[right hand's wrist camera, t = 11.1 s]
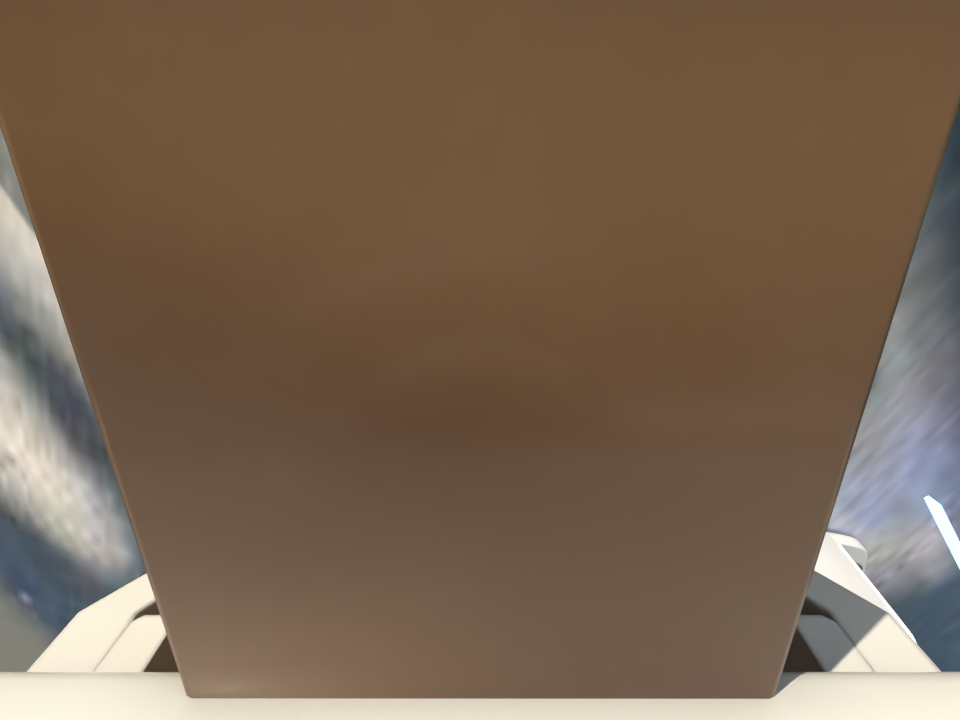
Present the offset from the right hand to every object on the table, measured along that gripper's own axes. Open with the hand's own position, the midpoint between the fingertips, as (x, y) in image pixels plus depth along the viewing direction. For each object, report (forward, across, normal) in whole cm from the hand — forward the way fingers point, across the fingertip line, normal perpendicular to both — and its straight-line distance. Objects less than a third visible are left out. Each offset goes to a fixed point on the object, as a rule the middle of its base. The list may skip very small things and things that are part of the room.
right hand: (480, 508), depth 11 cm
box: (+4, 0, -8) cm, 9 cm away
